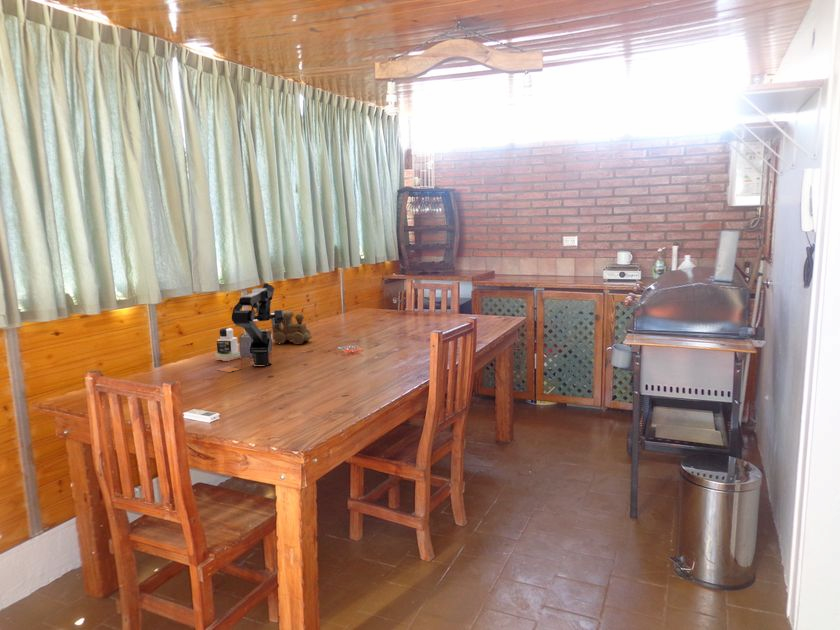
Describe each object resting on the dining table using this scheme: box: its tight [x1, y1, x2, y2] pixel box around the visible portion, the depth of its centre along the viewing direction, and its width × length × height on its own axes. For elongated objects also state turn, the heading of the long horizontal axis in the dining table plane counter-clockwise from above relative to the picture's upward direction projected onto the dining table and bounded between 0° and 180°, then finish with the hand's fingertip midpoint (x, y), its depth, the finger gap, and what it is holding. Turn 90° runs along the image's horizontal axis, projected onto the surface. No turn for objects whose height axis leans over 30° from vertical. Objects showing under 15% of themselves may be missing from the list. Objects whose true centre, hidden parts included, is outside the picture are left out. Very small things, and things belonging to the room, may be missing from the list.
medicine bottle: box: [216, 327, 239, 355], centre depth 282 cm, size 7×7×12 cm
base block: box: [214, 351, 241, 359], centre depth 283 cm, size 8×8×3 cm
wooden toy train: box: [270, 310, 313, 345], centre depth 315 cm, size 20×11×17 cm, turn 77°
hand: (262, 327), depth 289 cm, fingers open, 9 cm apart
